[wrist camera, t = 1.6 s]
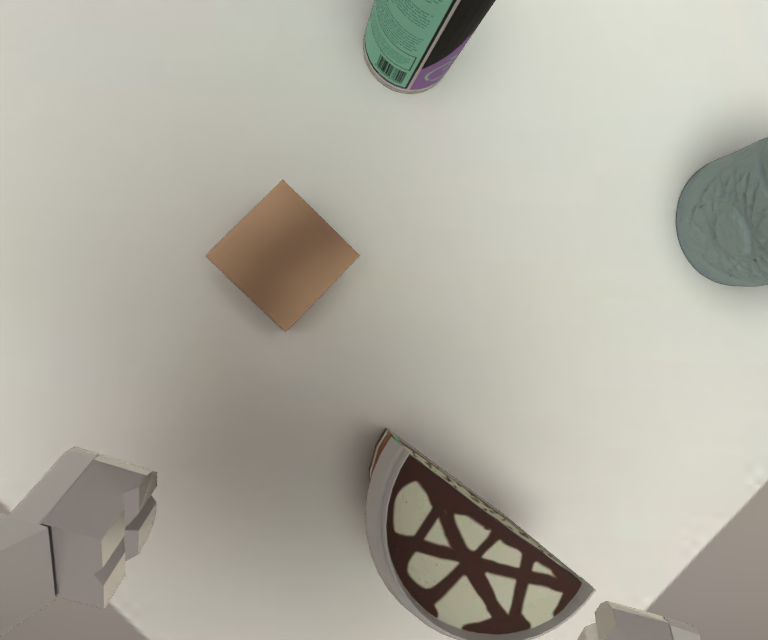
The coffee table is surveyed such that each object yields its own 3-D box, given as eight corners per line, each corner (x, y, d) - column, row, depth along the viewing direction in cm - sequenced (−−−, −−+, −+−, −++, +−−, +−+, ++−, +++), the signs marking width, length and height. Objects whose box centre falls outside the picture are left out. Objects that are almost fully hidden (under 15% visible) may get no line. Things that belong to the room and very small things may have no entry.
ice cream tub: (304, 497, 37) (315, 561, 27) (366, 413, 37) (399, 444, 28) (464, 610, 38) (530, 709, 29) (521, 527, 39) (604, 596, 29)
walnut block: (220, 270, 36) (205, 255, 28) (281, 210, 37) (282, 179, 29) (283, 330, 37) (285, 332, 29) (342, 270, 37) (359, 255, 29)
